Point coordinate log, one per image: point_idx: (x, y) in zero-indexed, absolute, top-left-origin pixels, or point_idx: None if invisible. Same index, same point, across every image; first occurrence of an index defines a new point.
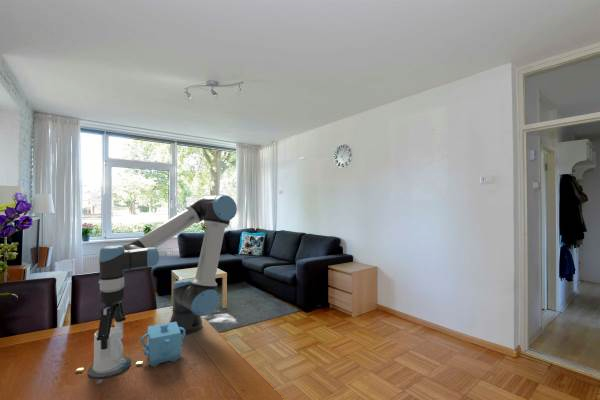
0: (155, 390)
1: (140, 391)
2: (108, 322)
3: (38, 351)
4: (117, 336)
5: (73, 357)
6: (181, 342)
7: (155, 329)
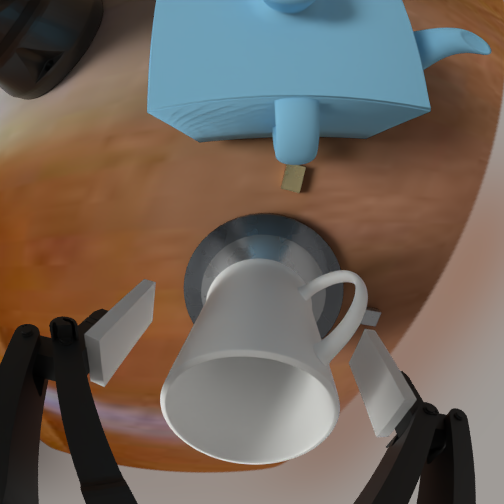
0: (478, 149)
1: (468, 189)
2: (463, 490)
3: None
4: (311, 349)
5: (133, 390)
6: None
7: (250, 48)
